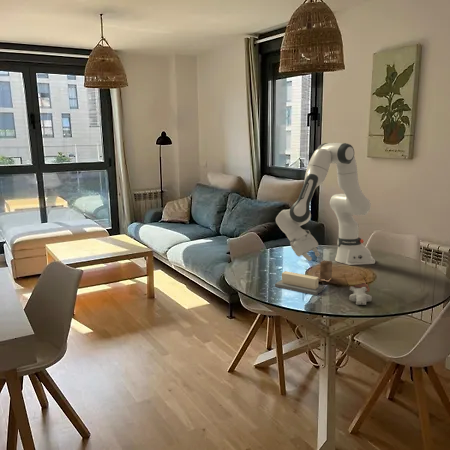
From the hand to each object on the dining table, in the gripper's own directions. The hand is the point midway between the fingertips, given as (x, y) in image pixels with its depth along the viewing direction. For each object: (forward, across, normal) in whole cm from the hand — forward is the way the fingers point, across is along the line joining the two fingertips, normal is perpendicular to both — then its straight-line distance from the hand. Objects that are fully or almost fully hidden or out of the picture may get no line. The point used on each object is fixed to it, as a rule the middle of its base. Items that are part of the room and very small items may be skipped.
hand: (314, 257), depth 229 cm
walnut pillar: (+12, 0, +4) cm, 13 cm away
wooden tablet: (+23, +5, -6) cm, 24 cm away
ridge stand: (+8, -16, +8) cm, 20 cm away
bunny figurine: (+29, -16, -13) cm, 36 cm away
